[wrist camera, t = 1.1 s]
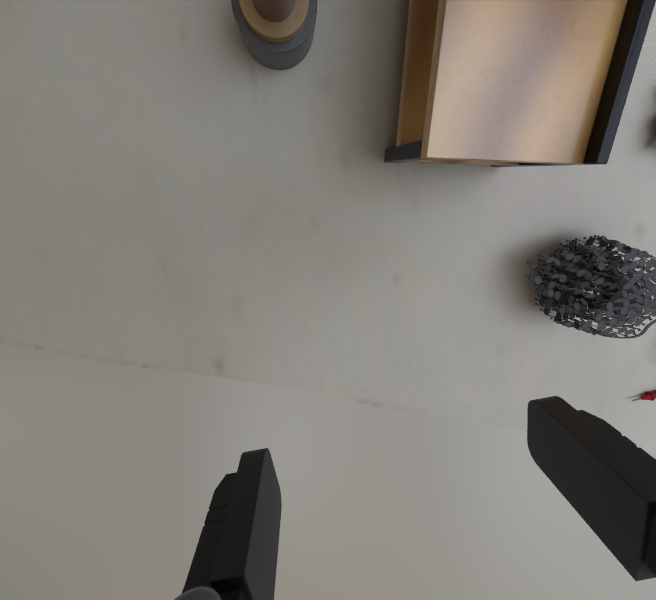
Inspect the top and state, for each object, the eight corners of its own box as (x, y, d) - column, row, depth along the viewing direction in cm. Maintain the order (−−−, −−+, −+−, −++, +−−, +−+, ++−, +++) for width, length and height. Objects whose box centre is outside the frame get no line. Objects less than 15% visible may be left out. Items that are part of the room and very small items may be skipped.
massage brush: (633, 338, 43) (720, 380, 34) (485, 293, 39) (542, 329, 30) (679, 269, 40) (787, 297, 31) (525, 213, 36) (601, 226, 27)
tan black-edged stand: (384, 162, 33) (433, 157, 21) (405, -88, 26) (491, -287, 15) (501, 166, 34) (607, 164, 22) (548, -71, 27) (729, -242, 16)
